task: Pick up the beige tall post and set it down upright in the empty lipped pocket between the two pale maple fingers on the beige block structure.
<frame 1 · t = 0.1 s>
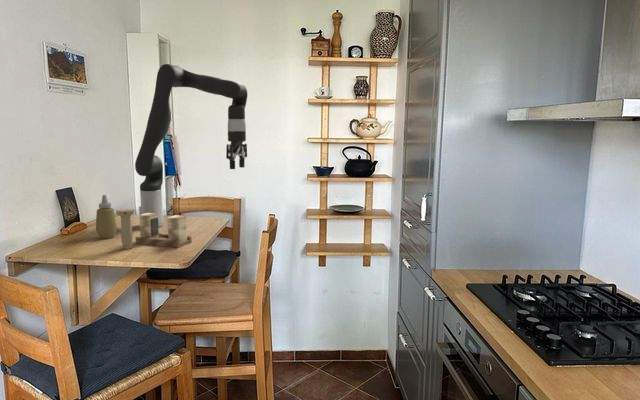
hand: (237, 168, 188), 29 cm above the table, fingers open, 8 cm apart
beige tall post: (127, 248, 168), on the table
squeeze bottle: (107, 237, 185), on the table
beige block structure: (163, 242, 177), on the table
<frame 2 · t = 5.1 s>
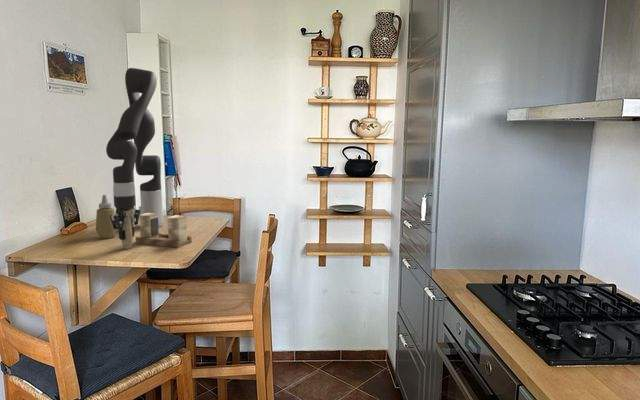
hand: (126, 238, 168), 4 cm above the table, fingers closed on beige tall post, 4 cm apart
beige tall post: (127, 248, 168), on the table, touching gripper
everything else where it was.
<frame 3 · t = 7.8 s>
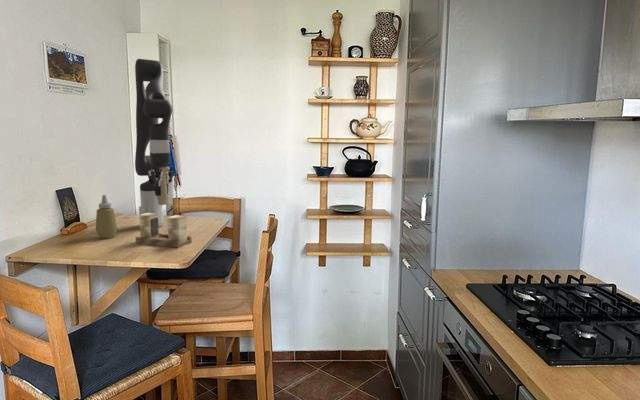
hand: (161, 194, 174), 20 cm above the table, fingers closed on beige tall post, 4 cm apart
beige tall post: (162, 205, 175), point 15 cm above the table, touching gripper
everything else where it was.
when the fingers open (6 cm above the table, at t = 10.8 s): beige tall post stays where it is, resting on beige block structure.
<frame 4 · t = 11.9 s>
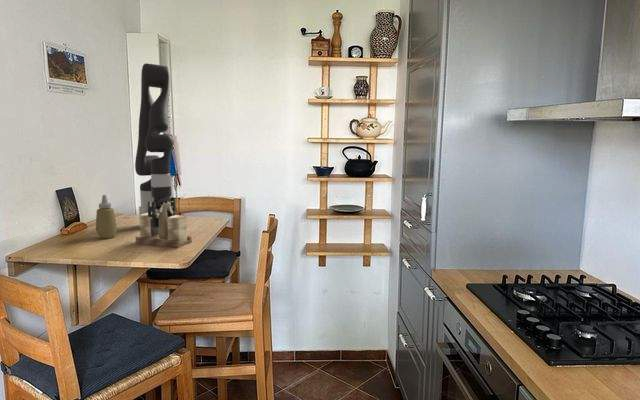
hand: (162, 224, 176), 7 cm above the table, fingers open, 8 cm apart
beige tall post: (163, 239, 177), point 1 cm above the table, touching beige block structure
everything else where it was.
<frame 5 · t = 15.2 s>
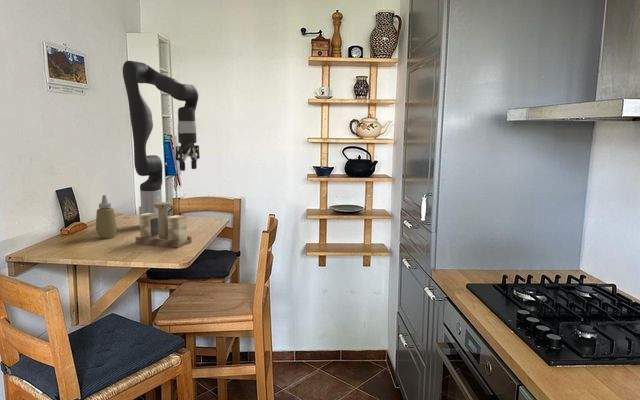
hand: (188, 169, 190), 28 cm above the table, fingers open, 8 cm apart
nothing on the table moved.
at the end: beige tall post inside the target area on the beige block structure (0.1 cm from its centre), point 1.0 cm above the beige block structure's base; beige tall post tilted 0°; the gripper is holding nothing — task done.
